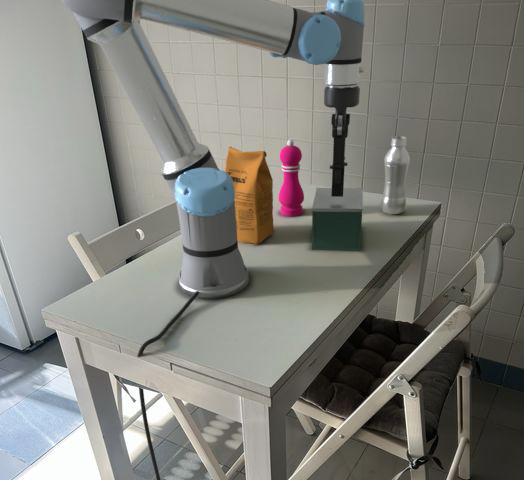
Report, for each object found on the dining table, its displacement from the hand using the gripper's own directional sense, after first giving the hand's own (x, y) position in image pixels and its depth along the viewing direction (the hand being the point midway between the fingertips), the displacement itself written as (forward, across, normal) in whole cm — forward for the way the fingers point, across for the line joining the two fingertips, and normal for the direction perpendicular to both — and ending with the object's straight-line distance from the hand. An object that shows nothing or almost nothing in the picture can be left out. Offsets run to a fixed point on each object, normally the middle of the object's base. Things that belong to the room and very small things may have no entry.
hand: (337, 195), depth 126 cm
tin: (+12, +3, 0) cm, 13 cm away
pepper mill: (+12, +21, +13) cm, 28 cm away
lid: (+2, +3, 0) cm, 3 cm away
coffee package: (+12, +4, +22) cm, 26 cm away
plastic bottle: (+12, +22, -15) cm, 30 cm away
